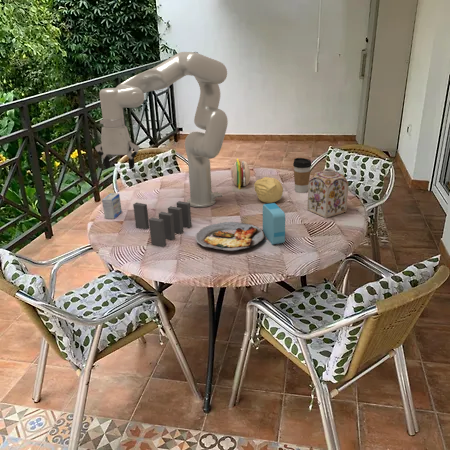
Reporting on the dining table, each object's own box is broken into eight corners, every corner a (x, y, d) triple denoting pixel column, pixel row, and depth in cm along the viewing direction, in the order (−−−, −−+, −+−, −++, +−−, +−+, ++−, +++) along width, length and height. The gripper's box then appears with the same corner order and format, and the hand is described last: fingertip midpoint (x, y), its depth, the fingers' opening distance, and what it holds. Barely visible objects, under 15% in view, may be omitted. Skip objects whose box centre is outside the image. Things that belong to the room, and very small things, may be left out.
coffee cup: (297, 186, 218) (298, 156, 212) (313, 189, 213) (315, 158, 207) (289, 191, 212) (289, 160, 206) (305, 194, 207) (306, 163, 201)
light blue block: (285, 244, 161) (285, 213, 156) (273, 246, 160) (273, 214, 155) (273, 231, 172) (274, 201, 167) (262, 232, 171) (262, 203, 166)
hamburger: (251, 188, 217) (251, 164, 213) (234, 189, 217) (233, 165, 212) (249, 181, 228) (248, 158, 224) (232, 181, 228) (232, 158, 223)
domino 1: (139, 225, 180) (136, 202, 176) (149, 227, 178) (146, 204, 174) (136, 227, 179) (133, 204, 175) (146, 229, 177) (143, 206, 173)
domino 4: (172, 230, 175) (170, 206, 171) (183, 232, 173) (181, 208, 169) (169, 232, 174) (167, 208, 170) (180, 234, 172) (178, 209, 168)
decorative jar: (347, 212, 186) (350, 170, 179) (326, 219, 181) (328, 176, 173) (326, 204, 196) (329, 163, 188) (306, 210, 190) (308, 168, 183)
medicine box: (114, 219, 188) (111, 199, 184) (104, 218, 188) (101, 199, 185) (122, 212, 195) (119, 193, 191) (112, 211, 196) (109, 192, 192)
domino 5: (180, 224, 180) (179, 201, 176) (191, 226, 178) (190, 202, 174) (178, 226, 179) (176, 202, 175) (189, 228, 177) (187, 204, 172)
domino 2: (154, 242, 166) (152, 217, 162) (166, 244, 164) (163, 219, 160) (151, 244, 164) (148, 219, 160) (162, 247, 162) (160, 221, 158)
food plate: (273, 231, 171) (272, 223, 169) (250, 259, 152) (250, 250, 150) (213, 224, 181) (213, 216, 179) (185, 249, 162) (184, 240, 160)
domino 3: (163, 236, 171) (161, 211, 167) (175, 238, 168) (172, 213, 164) (160, 238, 169) (158, 213, 165) (172, 240, 167) (169, 215, 163)
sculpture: (250, 200, 203) (250, 177, 198) (270, 194, 209) (270, 171, 205) (268, 207, 194) (268, 183, 190) (287, 200, 201) (288, 177, 197)
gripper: (87, 125, 164) (94, 170, 171) (132, 125, 161) (137, 171, 168) (96, 121, 171) (102, 165, 178) (139, 121, 168) (144, 165, 175)
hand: (119, 168), depth 173 cm, fingers open, 9 cm apart
